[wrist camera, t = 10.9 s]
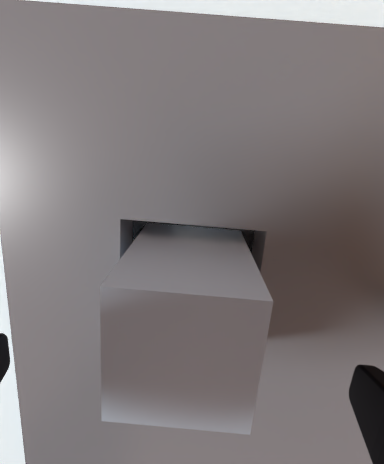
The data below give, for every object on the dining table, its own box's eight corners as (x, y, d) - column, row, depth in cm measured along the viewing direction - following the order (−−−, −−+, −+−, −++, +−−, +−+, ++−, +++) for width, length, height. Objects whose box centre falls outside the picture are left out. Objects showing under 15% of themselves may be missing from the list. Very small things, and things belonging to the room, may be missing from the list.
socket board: (367, 499, 16) (388, 545, 15) (50, 469, 17) (31, 511, 15) (518, 62, 10) (590, 43, 8) (15, 24, 11) (-26, -4, 9)
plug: (229, 312, 14) (250, 434, 8) (144, 305, 14) (101, 420, 8) (240, 230, 12) (273, 301, 7) (147, 222, 12) (100, 286, 7)
